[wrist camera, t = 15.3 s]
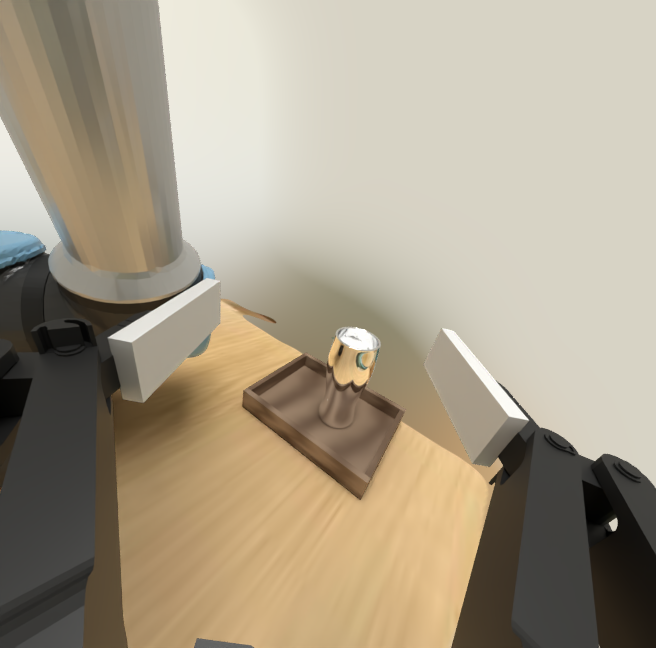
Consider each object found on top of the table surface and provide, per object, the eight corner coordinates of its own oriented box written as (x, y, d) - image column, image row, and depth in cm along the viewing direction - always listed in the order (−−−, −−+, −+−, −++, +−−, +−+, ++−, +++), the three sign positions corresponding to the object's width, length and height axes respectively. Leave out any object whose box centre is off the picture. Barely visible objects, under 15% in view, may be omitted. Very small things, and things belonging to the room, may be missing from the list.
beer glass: (337, 394, 46) (358, 323, 39) (364, 420, 41) (392, 345, 35) (307, 407, 41) (324, 329, 35) (333, 438, 37) (358, 356, 30)
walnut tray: (242, 406, 40) (243, 390, 39) (303, 365, 53) (305, 352, 51) (360, 499, 31) (367, 483, 29) (399, 423, 44) (405, 409, 42)
